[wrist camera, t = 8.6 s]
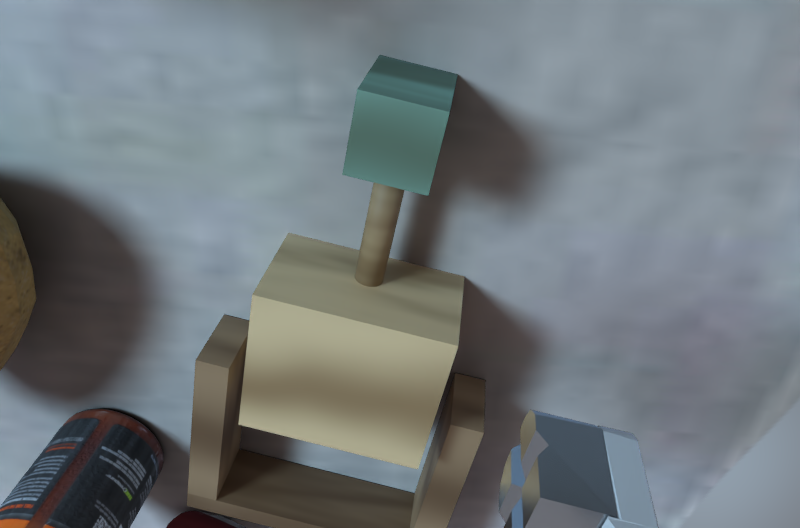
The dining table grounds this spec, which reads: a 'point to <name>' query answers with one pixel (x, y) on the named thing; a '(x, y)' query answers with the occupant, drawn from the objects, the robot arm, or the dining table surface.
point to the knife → (201, 521)
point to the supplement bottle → (87, 475)
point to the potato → (13, 285)
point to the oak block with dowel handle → (362, 296)
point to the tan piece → (305, 486)
